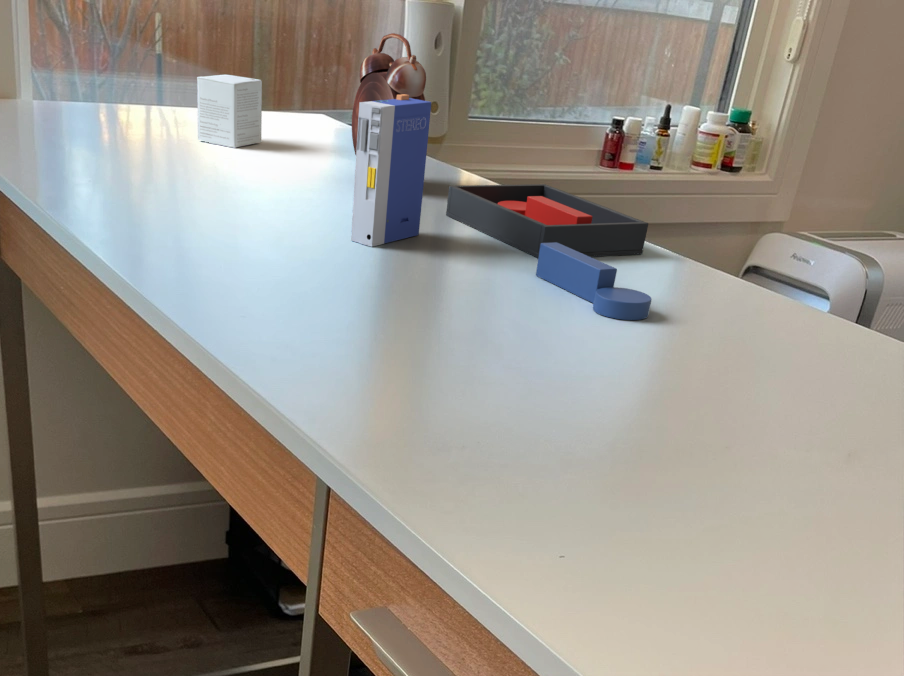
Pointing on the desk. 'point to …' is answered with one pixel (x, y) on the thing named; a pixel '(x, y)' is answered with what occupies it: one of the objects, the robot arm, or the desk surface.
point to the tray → (596, 239)
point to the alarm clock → (388, 79)
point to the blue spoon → (591, 282)
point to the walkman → (389, 169)
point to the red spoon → (547, 211)
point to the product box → (229, 110)
